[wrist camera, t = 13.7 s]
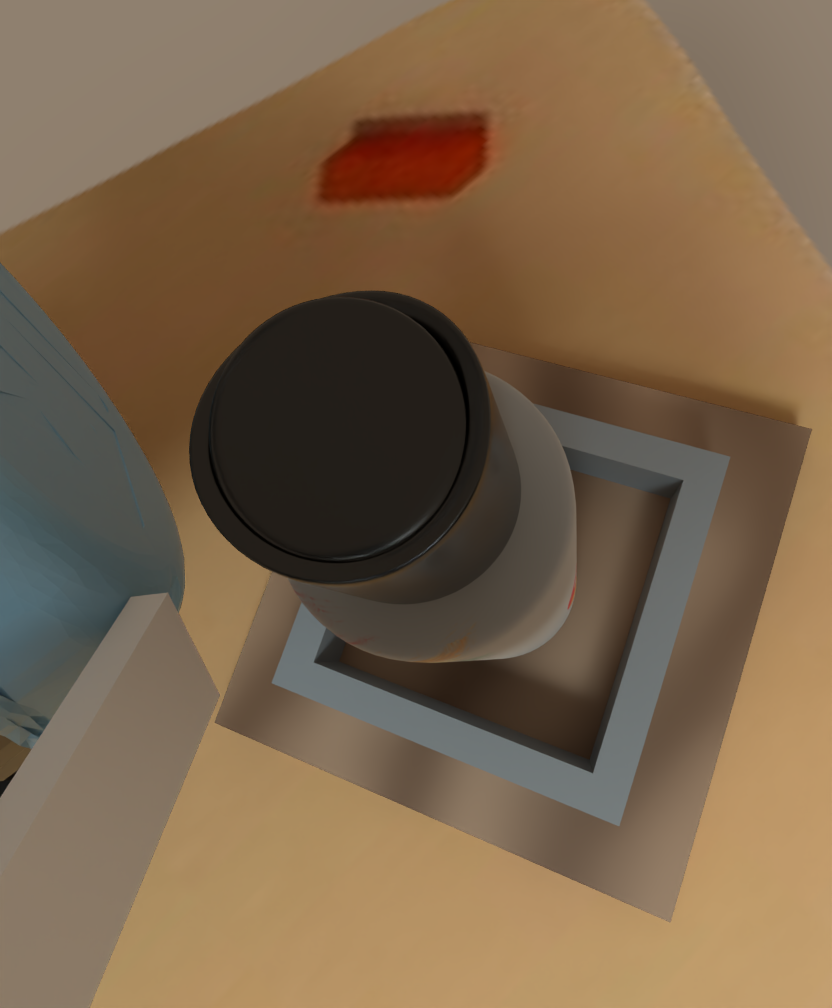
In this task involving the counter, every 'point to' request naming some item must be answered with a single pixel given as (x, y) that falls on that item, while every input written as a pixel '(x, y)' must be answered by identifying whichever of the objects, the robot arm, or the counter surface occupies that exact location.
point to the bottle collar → (641, 668)
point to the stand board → (571, 655)
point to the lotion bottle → (390, 480)
